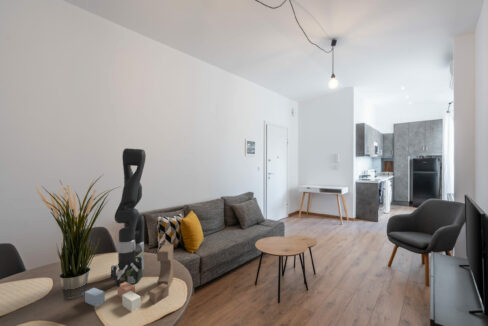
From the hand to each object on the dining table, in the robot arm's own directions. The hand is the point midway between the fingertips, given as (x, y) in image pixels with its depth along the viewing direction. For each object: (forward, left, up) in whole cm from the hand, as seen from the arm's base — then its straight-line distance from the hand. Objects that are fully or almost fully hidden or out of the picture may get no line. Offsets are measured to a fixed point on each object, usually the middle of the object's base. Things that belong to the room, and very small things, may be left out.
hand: (126, 282), depth 112 cm
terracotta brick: (-1, 0, -7) cm, 7 cm away
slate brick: (-8, -11, -7) cm, 15 cm away
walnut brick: (+14, +8, -7) cm, 18 cm away
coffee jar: (-12, +10, -7) cm, 17 cm away
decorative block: (+7, +17, -7) cm, 20 cm away
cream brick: (+9, -3, -7) cm, 12 cm away
